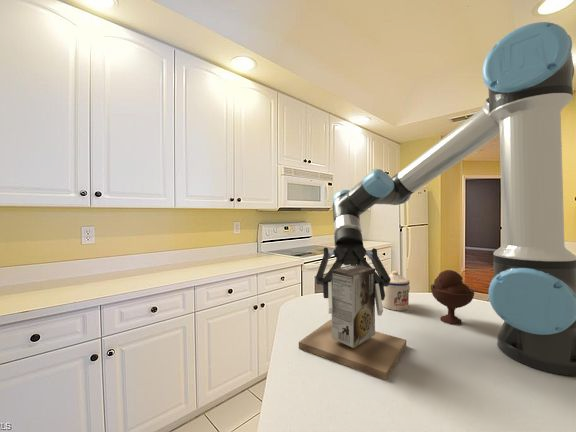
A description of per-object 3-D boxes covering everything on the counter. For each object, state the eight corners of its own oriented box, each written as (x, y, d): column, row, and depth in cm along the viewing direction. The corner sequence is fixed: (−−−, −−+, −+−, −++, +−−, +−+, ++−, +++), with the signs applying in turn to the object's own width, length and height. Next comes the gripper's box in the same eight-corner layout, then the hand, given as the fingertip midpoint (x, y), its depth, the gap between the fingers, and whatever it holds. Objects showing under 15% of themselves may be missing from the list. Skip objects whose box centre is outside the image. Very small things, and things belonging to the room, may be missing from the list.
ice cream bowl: (481, 330, 73) (482, 275, 72) (436, 327, 75) (437, 272, 75) (464, 315, 83) (465, 266, 83) (424, 312, 85) (425, 265, 85)
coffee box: (352, 326, 69) (353, 263, 69) (375, 335, 65) (376, 267, 64) (330, 338, 63) (330, 269, 63) (353, 348, 59) (354, 274, 58)
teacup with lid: (397, 313, 85) (397, 276, 84) (374, 304, 93) (374, 270, 92) (420, 306, 91) (421, 271, 91) (397, 298, 99) (397, 266, 98)
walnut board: (406, 346, 65) (406, 339, 65) (386, 380, 52) (386, 372, 52) (330, 324, 76) (330, 319, 76) (298, 348, 64) (298, 341, 63)
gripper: (387, 243, 78) (404, 321, 62) (307, 242, 80) (304, 316, 65) (392, 226, 72) (412, 306, 57) (306, 225, 75) (303, 302, 59)
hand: (355, 312), depth 61 cm, fingers closed on coffee box, 10 cm apart
